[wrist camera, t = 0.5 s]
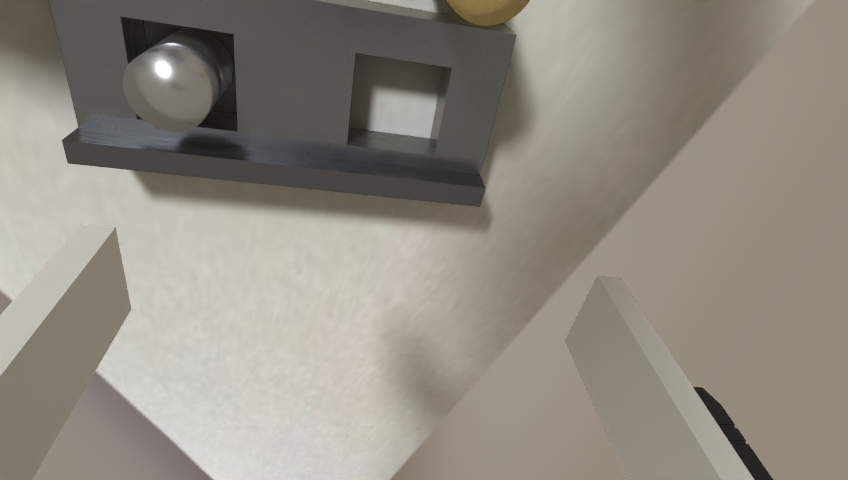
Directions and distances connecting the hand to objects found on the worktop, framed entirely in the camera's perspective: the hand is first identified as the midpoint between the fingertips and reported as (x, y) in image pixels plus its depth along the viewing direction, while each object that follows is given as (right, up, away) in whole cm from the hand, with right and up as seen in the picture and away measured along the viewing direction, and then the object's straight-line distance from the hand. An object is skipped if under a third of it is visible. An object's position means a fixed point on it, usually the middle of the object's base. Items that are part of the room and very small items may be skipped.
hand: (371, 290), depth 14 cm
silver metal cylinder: (-13, +13, +18) cm, 26 cm away
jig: (-7, +12, +19) cm, 24 cm away
